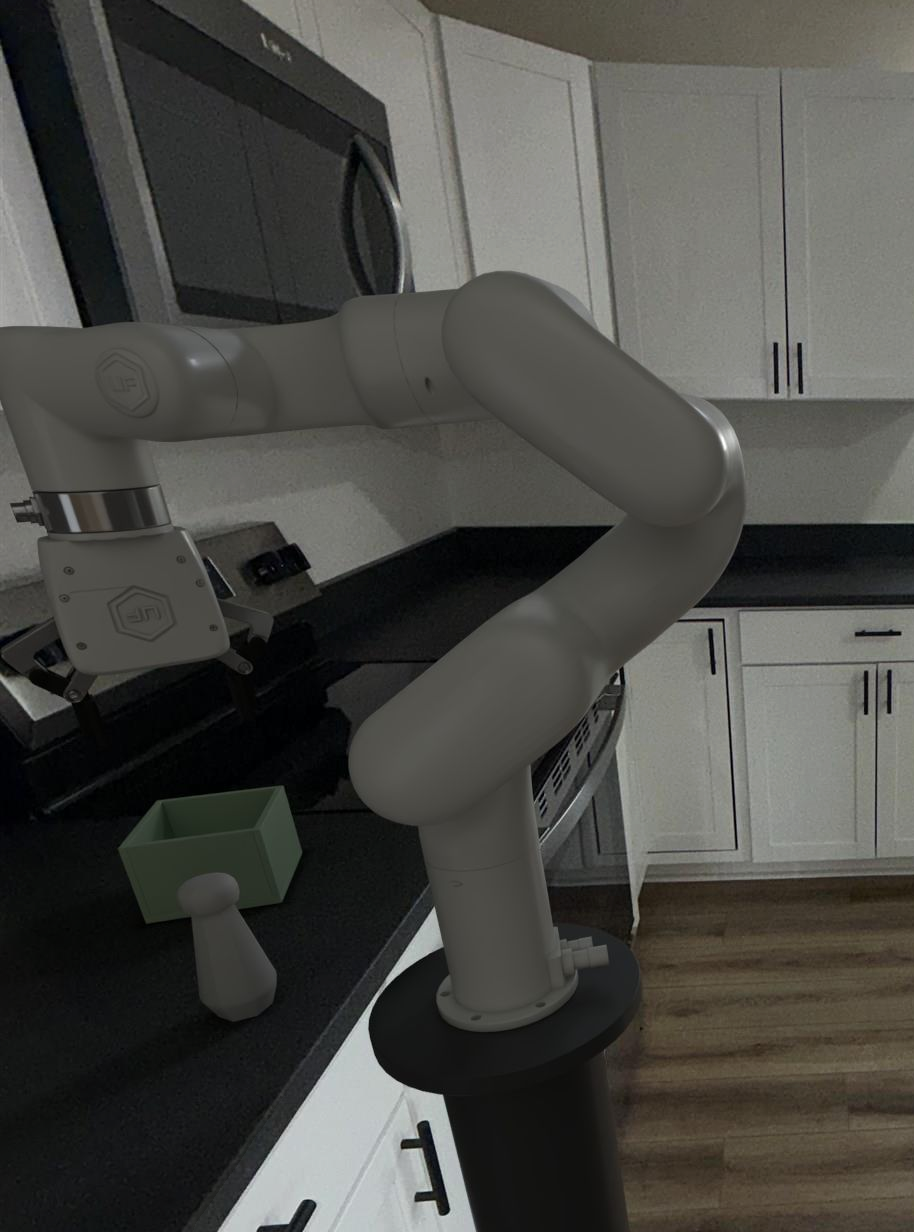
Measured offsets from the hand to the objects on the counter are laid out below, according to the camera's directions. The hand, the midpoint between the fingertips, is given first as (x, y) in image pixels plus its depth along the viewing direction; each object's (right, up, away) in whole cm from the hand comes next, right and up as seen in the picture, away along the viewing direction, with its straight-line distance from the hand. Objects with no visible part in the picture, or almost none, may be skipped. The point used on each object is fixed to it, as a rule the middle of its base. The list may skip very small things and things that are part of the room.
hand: (178, 731), depth 75 cm
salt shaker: (+1, -24, +7) cm, 25 cm away
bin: (-15, -15, +27) cm, 34 cm away
